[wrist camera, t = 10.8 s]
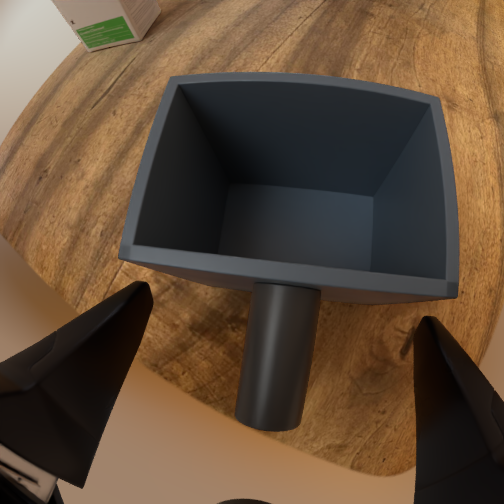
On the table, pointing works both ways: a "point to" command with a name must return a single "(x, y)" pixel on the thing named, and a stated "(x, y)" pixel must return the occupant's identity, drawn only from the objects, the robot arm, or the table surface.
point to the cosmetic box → (108, 20)
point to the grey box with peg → (295, 210)
